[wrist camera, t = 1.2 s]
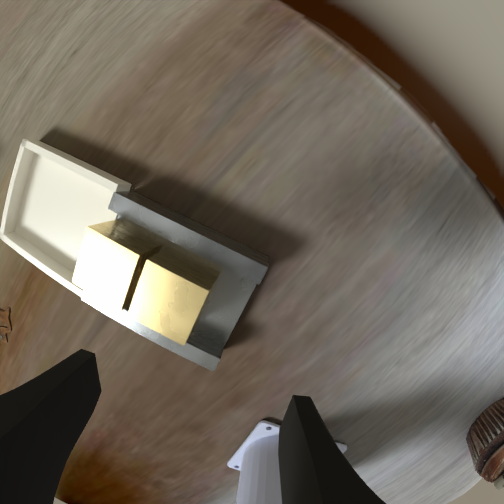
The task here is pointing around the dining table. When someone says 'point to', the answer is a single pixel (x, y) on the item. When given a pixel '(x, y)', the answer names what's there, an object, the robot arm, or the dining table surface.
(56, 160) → the tray
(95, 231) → the brass chip
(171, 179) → the dining table surface
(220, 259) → the rail
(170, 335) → the brass chip
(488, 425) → the cupcake
